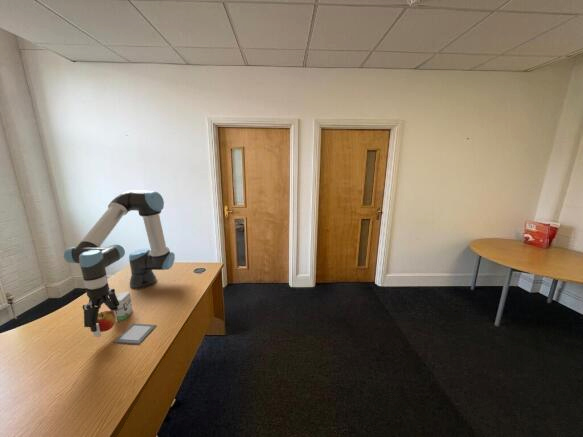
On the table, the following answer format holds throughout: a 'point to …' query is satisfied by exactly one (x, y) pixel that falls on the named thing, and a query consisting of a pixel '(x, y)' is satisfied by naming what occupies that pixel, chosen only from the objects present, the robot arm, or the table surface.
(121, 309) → the ink box
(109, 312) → the apple
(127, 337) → the coaster
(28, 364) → the table surface
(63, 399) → the table surface
